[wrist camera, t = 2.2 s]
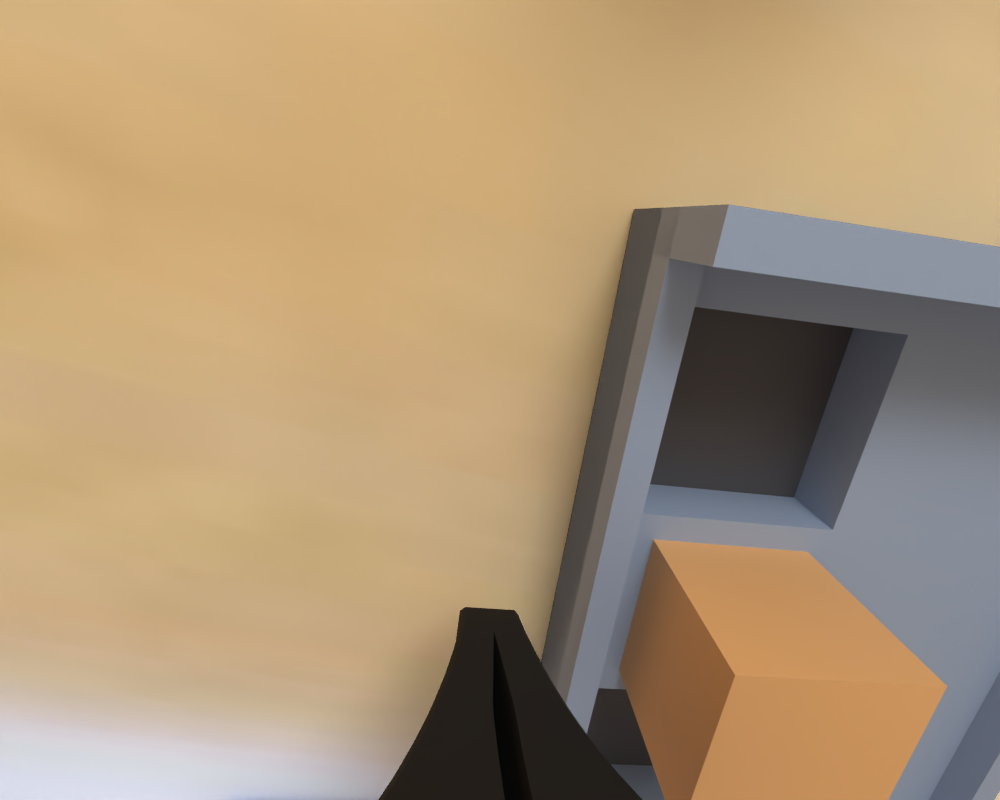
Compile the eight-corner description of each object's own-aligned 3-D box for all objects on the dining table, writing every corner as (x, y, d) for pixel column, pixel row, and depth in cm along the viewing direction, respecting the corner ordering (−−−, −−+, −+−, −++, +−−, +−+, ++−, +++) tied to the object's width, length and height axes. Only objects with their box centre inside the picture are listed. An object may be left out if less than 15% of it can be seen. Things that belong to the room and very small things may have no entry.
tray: (884, 786, 21) (1004, 947, 17) (518, 775, 20) (536, 952, 15) (1140, 286, 15) (1451, 317, 10) (634, 209, 13) (728, 204, 9)
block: (760, 676, 16) (867, 839, 12) (618, 669, 16) (677, 836, 11) (807, 551, 15) (947, 686, 11) (653, 539, 14) (735, 675, 10)
